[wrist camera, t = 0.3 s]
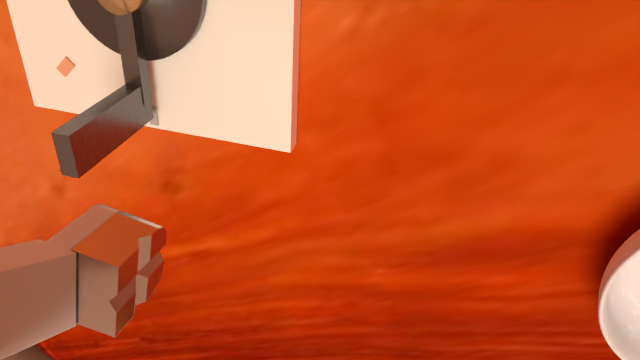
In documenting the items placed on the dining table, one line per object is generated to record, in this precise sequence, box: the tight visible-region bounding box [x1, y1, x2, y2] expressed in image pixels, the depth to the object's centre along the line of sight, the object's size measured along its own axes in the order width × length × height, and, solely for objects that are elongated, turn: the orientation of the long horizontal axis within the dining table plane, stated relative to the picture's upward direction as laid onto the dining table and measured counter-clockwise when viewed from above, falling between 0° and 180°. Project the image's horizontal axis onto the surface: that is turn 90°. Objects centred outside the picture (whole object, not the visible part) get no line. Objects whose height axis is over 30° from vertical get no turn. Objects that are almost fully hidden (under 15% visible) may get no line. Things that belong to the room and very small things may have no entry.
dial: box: [51, 0, 207, 178], centre depth 44 cm, size 20×14×13 cm
